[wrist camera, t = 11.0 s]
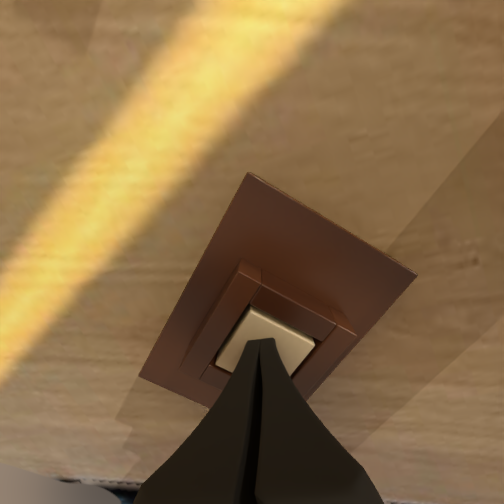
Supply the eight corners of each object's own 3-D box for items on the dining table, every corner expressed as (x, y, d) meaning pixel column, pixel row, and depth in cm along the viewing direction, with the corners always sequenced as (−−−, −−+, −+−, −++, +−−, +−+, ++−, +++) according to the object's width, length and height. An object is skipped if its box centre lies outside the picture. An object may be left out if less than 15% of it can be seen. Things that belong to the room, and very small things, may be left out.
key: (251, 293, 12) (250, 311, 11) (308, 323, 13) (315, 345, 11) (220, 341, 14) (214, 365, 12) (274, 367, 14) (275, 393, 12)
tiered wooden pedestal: (249, 171, 13) (244, 170, 9) (395, 259, 14) (445, 292, 10) (152, 351, 17) (121, 403, 13) (272, 407, 18) (275, 469, 14)
